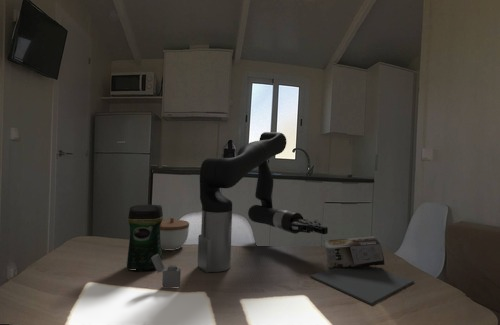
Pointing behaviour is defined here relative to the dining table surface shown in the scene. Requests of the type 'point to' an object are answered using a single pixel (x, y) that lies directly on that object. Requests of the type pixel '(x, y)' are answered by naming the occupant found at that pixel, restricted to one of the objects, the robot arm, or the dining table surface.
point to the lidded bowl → (173, 233)
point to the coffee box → (354, 252)
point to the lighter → (167, 272)
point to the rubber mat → (363, 282)
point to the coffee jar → (144, 236)
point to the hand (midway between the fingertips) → (326, 230)
